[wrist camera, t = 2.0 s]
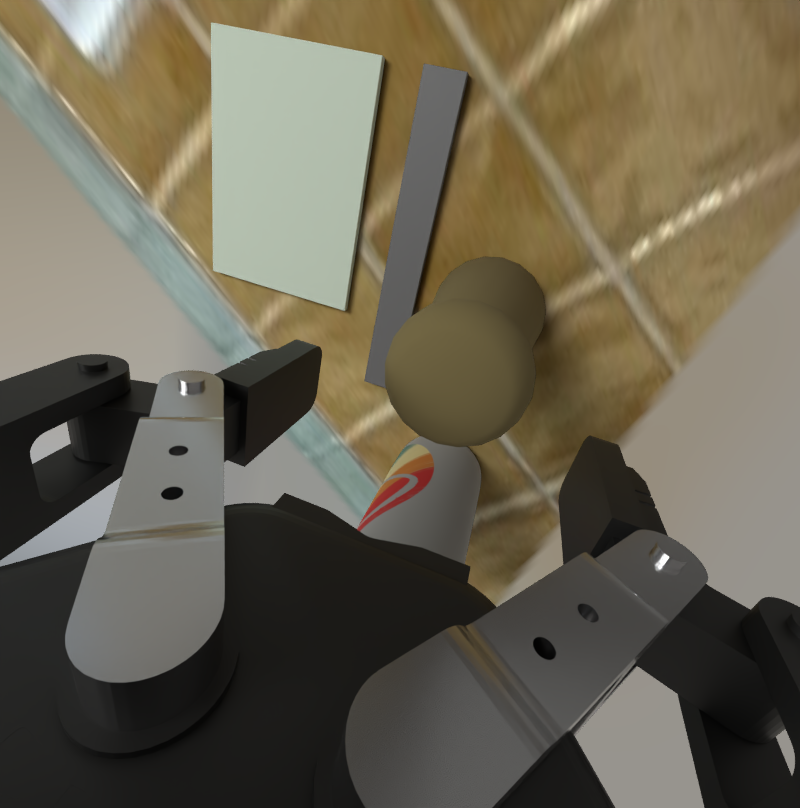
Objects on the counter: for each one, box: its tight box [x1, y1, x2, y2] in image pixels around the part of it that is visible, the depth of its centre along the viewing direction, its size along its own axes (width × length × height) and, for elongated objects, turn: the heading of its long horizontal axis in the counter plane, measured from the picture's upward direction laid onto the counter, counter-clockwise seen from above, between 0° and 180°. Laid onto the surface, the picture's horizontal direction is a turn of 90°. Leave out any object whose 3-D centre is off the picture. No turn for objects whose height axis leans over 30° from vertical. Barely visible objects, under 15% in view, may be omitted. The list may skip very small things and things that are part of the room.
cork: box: [385, 257, 546, 447], centre depth 18 cm, size 6×6×11 cm
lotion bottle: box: [357, 436, 481, 564], centre depth 19 cm, size 6×6×20 cm
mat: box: [211, 22, 385, 311], centre depth 23 cm, size 12×9×1 cm
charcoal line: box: [364, 64, 469, 388], centre depth 22 cm, size 16×2×1 cm, turn 167°
